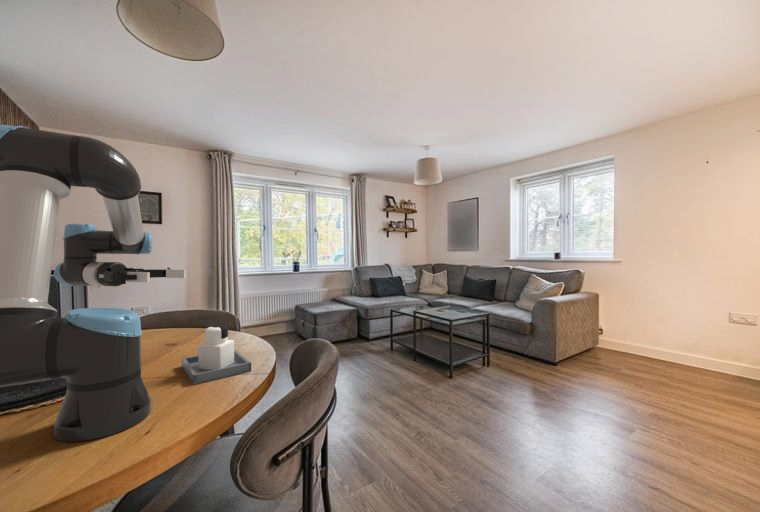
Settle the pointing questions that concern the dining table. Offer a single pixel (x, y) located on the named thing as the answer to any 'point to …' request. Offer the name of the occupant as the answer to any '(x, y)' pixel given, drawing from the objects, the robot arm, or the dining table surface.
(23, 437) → the dining table surface
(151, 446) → the dining table surface
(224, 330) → the medicine bottle
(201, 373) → the tray
